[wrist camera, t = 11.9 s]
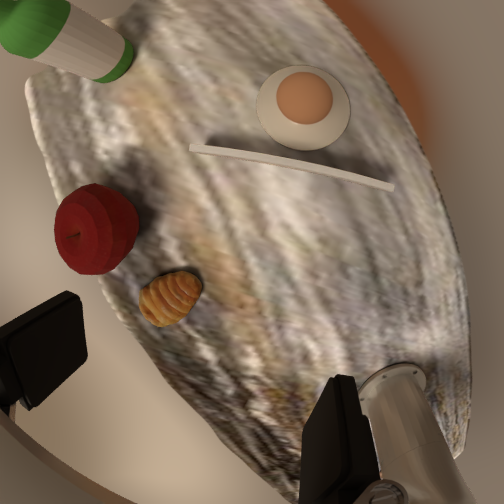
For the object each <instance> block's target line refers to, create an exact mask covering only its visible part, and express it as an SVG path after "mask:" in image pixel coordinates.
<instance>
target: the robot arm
mask: <svg viewBox="0 0 504 504" xmlns="http://www.w3.org/2000/svg"><path fill="white" fill-rule="evenodd" d="M87 357H88V353H87V346H86V338H85V329H84V319H83V307H82V302H81V301H80V297H79V296H78V295H76V294H74V293H72V292H69V291H67V290H66V291H64V292H62V293H60V294H58V295H56V296H54V297H52V298H51V299H49V300H47V301H45V302H43V303H42V304H40V305H38V306H36V307H34V308H33V309H31V310H29V311H27V312H26V313H24V314H22V315H20V316H18V317H17V318H15V319H13V320H12V321H10V322H8V323H6V324H5V325H3V326H1V327H0V504H137V503H134V502H132V501H130V500H128V499H126V498H124V497H122V496H120V495H118V494H115V493H114V492H112V491H109V490H108V489H106V488H104V487H103V486H101V485H99V484H97V483H95V482H94V481H92V480H90V479H88V478H87V477H85V476H84V475H82V474H80V473H79V472H77V471H76V470H74V469H73V468H71V467H70V466H68V465H67V464H65V463H64V462H62V461H61V460H59V459H58V458H57V457H55V456H54V455H53V454H51V453H50V452H49V451H47V450H46V449H45V448H44V447H42V446H41V445H40V444H38V443H37V442H36V441H35V440H33V439H32V438H31V437H30V436H29V435H28V434H26V433H25V432H24V431H23V430H22V429H21V428H20V427H19V426H17V425H16V424H15V411H16V410H15V409H16V401H18V400H19V401H20V404H21V405H22V406H24V407H25V408H26V409H27V410H28V411H30V410H31V409H32V408H33V407H37V406H38V405H40V404H41V403H42V402H43V401H44V400H45V399H46V398H47V397H48V396H49V395H50V394H51V393H52V392H53V391H54V390H55V389H56V388H58V387H59V386H60V385H61V384H62V383H63V382H64V381H65V380H66V379H67V378H68V377H69V376H71V374H73V373H74V372H75V371H76V370H77V369H78V368H79V367H80V366H81V365H83V364H84V362H85V361H86V360H87ZM425 387H426V377H425V374H424V372H423V371H422V369H421V368H419V367H418V366H416V365H413V364H408V363H407V364H397V365H393V366H390V367H387V368H385V369H383V370H381V371H379V372H378V373H376V374H374V375H373V376H372V377H370V378H369V379H368V380H367V381H366V382H365V383H364V384H363V386H362V387H361V388H360V390H359V392H357V387H356V383H355V379H354V377H353V376H347V375H340V374H337V375H336V376H335V377H334V378H332V377H330V378H329V380H328V382H327V384H326V386H325V388H324V390H323V392H322V394H321V396H320V398H319V400H318V402H317V404H316V406H315V407H314V409H313V411H312V413H311V415H310V417H309V419H308V420H307V422H306V424H305V426H304V428H303V432H302V450H301V472H300V489H299V503H298V504H408V503H409V504H477V502H476V499H475V498H474V496H473V494H472V493H471V491H470V490H469V488H468V486H467V485H466V483H465V482H464V479H463V477H462V476H461V474H460V472H459V470H458V468H457V466H456V463H455V461H454V459H453V456H452V454H451V452H450V449H449V447H448V445H447V443H446V440H445V438H444V436H443V433H442V431H441V429H440V427H439V424H438V422H437V420H436V418H435V416H434V414H433V412H432V409H431V407H430V405H429V403H428V401H427V399H426V397H425V395H424V393H423V392H424V390H425ZM368 418H369V419H370V422H371V426H372V430H373V435H374V439H375V443H376V448H377V452H378V457H379V462H380V466H381V471H382V477H383V480H381V478H380V473H379V467H378V462H377V457H376V452H375V447H374V442H373V437H372V433H371V428H370V424H369V420H368Z"/></svg>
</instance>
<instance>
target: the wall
mask: <svg viewBox="0 0 504 504" xmlns="http://www.w3.org/2000/svg"><path fill="white" fill-rule="evenodd" d="M189 151H191V152H195V153H199V154H204V155H212V156H219V157H227V158H233V159H240V160H246V161H252V162H258V163H264V164H270V165H275V166H280V167H285V168H291V169H295V170H300V171H305V172H310V173H314V174H319V175H323V176H327V177H332V178H336V179H340V180H344V181H348V182H352V183H355V184H359V185H363V186H367V187H370V188H374V189H377V190H382V191H389V192H393V191H394V186H395V185H393V184H390V183H387V182H383V181H380V180H377V179H373V178H370V177H366V176H362V175H359V174H355V173H351V172H347V171H343V170H339V169H335V168H331V167H327V166H323V165H318V164H314V163H309V162H305V161H300V160H295V159H290V158H285V157H280V156H274V155H269V154H263V153H257V152H251V151H244V150H238V149H231V148H223V147H215V146H207V145H198V144H190V148H189Z"/></svg>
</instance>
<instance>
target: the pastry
mask: <svg viewBox="0 0 504 504" xmlns="http://www.w3.org/2000/svg"><path fill="white" fill-rule="evenodd" d="M201 289H202V284H201V282H200V281H199V279H198V278H197V277H196V276H195V275H193V274H191V273H189V272H185V271H179V272H175V273H169V274H166V275H164V276H160V277H156V278H155V279H154V281H153V282H151V283H150V284H149V285H147V286H146V287H144V288H143V289H141V290H140V292H139V308H140V310H141V312H142V314H143V315H144V317H145V318H146V319H147V320H148V321H150V322H151V323H152V324H154V325H156V326H159V327H164V326H167V325H169V324H174V323H177V322H178V321H179V320H180V319H182V318H183V317H185V316H186V315H187V314H188V312H189V311H190V309H191V308H192V307H193V305H194V304H195V303H196V301H197V300H198V298H199V296H200V293H201Z"/></svg>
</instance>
